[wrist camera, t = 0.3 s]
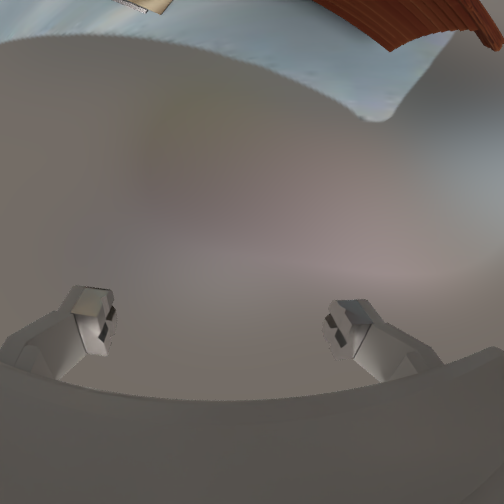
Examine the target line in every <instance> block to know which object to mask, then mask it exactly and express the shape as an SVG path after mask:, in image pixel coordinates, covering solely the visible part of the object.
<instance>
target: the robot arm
mask: <svg viewBox="0 0 504 504" xmlns="http://www.w3.org/2000/svg"><path fill="white" fill-rule="evenodd" d="M113 301H114V296H113V292H112V290H110V289H102V288H95V287H88V286H87V287H86V286H79V285H75V286H73V287H72V288H71V290H70V291H69V293H68V294H67V296H66V298H65V299H64V301H63V302H62V304H61V306H60V307H59V309H58V311H52V312H51V313H49V314H47V315H45V316H43V317H42V318H40V319H38V320H36V321H35V322H33V323H31V324H29V325H28V326H26V327H24V328H22V329H21V330H19V331H17V332H15V333H14V334H12V335H10V336H9V337H7V339H6V340H5V342H4V344H3V345H2V347H1V349H0V504H504V351H503V350H501V349H500V348H497V347H494V346H493V347H489V348H486V349H484V350H482V351H480V352H477V353H474V354H472V355H470V356H467V357H464V358H462V359H459V360H457V361H454V362H451V363H448V364H445V365H444V364H443V362H442V361H441V359H440V358H439V357H438V355H437V354H436V353H435V352H434V350H433V349H432V348H431V347H430V346H428V345H426V344H424V343H423V342H421V341H419V340H418V339H416V338H414V337H412V336H410V335H409V334H407V333H405V332H403V331H402V330H400V329H398V328H396V327H395V326H393V325H391V324H389V323H385V322H384V321H383V320H382V318H381V317H380V316H379V314H378V313H377V312H376V311H375V309H374V308H373V307H372V305H371V304H370V303H369V302H368V300H366V299H358V300H357V299H356V300H333V301H332V302H331V303H330V305H329V308H328V310H329V312H330V314H329V315H327V316H326V317H325V319H324V322H323V328H322V331H323V336H324V338H325V340H326V341H327V342H328V343H330V344H331V346H330V351H331V353H332V355H333V357H334V359H335V360H345V359H354V360H355V361H356V362H357V363H358V364H359V365H361V366H362V367H363V368H364V369H365V370H366V371H368V372H369V373H370V374H371V375H372V376H374V377H375V378H376V379H377V380H378V381H380V382H381V383H378V384H374V385H369V386H364V387H360V388H354V389H349V390H344V391H337V392H331V393H324V394H317V395H309V396H301V397H290V398H279V399H263V400H237V401H208V400H182V399H168V398H156V397H147V396H146V397H145V396H138V395H130V394H123V393H117V392H110V391H104V390H99V389H94V388H89V387H84V386H79V385H74V384H70V383H66V382H62V381H58V380H59V379H60V378H62V377H63V376H64V375H65V374H66V373H67V372H68V371H69V370H70V369H71V368H72V367H73V366H74V365H75V364H77V363H78V362H79V361H80V360H81V359H82V358H83V357H84V356H85V355H86V353H87V354H94V355H101V356H108V353H109V349H110V346H111V343H112V342H111V339H110V337H111V336H113V335H114V334H115V331H116V326H117V314H116V309H115V308H114V307H113V306H112V304H113Z"/></svg>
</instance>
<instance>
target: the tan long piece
mask: <svg viewBox="0 0 504 504" xmlns="http://www.w3.org/2000/svg"><path fill="white" fill-rule="evenodd" d="M128 1H130V2H133V3H135V4H137V5H140V6H142V7H144V8H147V9H149V10H151V11H153V12H155V13H158V14H160V15H161V14H162V13H163V12H164V10H165V9H166V8H167V7H168V5H169V4H170V3H171V2H172V1H173V0H128Z"/></svg>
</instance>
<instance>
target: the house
mask: <svg viewBox="0 0 504 504" xmlns="http://www.w3.org/2000/svg"><path fill="white" fill-rule="evenodd" d="M312 1H314V2H316V3H318V4H320V5H321V6H323V7H325V8H327V9H328V10H330V11H332V12H333V13H335V14H337V15H338V16H340V17H342V18H343V19H345V20H346V21H348V22H349V23H351V24H352V25H354V26H355V27H357V28H358V29H360V30H361V31H363V32H364V33H365V34H367V35H368V36H369V37H371V38H372V39H373V40H375V41H376V42H377V43H379V44H380V45H381V46H383V47H384V48H385V49H386V50H388V51H389V52H391V51H393V50H394V49H397V48H398V47H400V46H401V45H404V44H406V43H407V42H409V41H412V40H414V39H416V38H420V37H422V36H426V35H429V34H431V33H433V34H434V33H437V32H440V31H441V32H445V31H448V30H450V31H454V30H458V29H459V30H460V31H463V30H468V29H469V30H470V31H474V32H475V33H476V35H477V36H478V37H479V39H480V40H481V42H482V43H483V45H484V46H486V47H488V48H491V49H492V50H493V51H499V50H500V49H501V47H502V44H504V38H503V36H502V34H501V32H500V31H499V29H498V28H497V26H496V24H495V23H494V21H493V20H492V18H491V17H490V15H489V14H488V12H487V11H486V9H485V8H484V6H483V5H482V4H481V2H480V1H479V0H312Z"/></svg>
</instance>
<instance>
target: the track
mask: <svg viewBox="0 0 504 504" xmlns="http://www.w3.org/2000/svg"><path fill="white" fill-rule="evenodd" d="M113 1H115V2H118V3H121V4H123V5H126V6H128V7H131V8H133V9H135V10H138V11H140V12H142V13H146V12H147V11H148V10H147V9H144V8H142V7H140V6H137V5H135V4H133V3H130V2H128V1H125V0H113Z"/></svg>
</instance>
